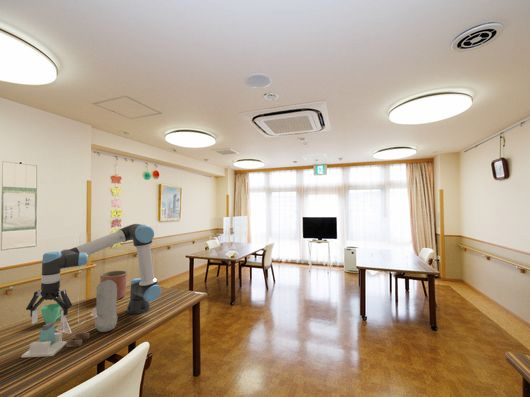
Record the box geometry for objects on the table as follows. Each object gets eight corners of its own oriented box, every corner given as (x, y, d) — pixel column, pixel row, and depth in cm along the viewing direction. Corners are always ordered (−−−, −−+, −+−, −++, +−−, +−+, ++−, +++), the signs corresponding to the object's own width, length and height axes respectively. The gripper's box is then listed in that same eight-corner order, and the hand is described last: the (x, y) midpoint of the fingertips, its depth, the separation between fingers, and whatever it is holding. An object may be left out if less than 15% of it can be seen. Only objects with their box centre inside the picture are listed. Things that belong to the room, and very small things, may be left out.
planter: (106, 293, 208) (108, 270, 209) (129, 293, 210) (131, 270, 211) (93, 302, 190) (95, 276, 190) (119, 302, 192) (120, 276, 192)
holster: (89, 337, 139) (89, 332, 140) (80, 346, 131) (80, 340, 131) (76, 338, 138) (76, 333, 138) (66, 347, 130) (66, 341, 130)
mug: (48, 326, 150) (49, 310, 151) (36, 324, 152) (37, 308, 153) (71, 316, 165) (72, 301, 165) (60, 314, 167) (61, 300, 167)
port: (68, 342, 134) (69, 331, 134) (52, 355, 122) (53, 343, 122) (39, 344, 132) (40, 332, 132) (21, 357, 120) (22, 345, 120)
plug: (53, 344, 130) (55, 321, 130) (46, 350, 125) (48, 326, 125) (46, 344, 129) (47, 322, 130) (38, 350, 124) (40, 326, 125)
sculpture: (123, 326, 154) (126, 278, 155) (109, 335, 142) (112, 284, 144) (101, 324, 156) (104, 277, 157) (86, 333, 144) (89, 282, 145)
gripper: (80, 278, 134) (79, 317, 133) (29, 279, 130) (28, 319, 130) (72, 283, 126) (70, 324, 126) (17, 284, 123) (15, 326, 122)
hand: (49, 322), depth 128 cm, fingers open, 13 cm apart
